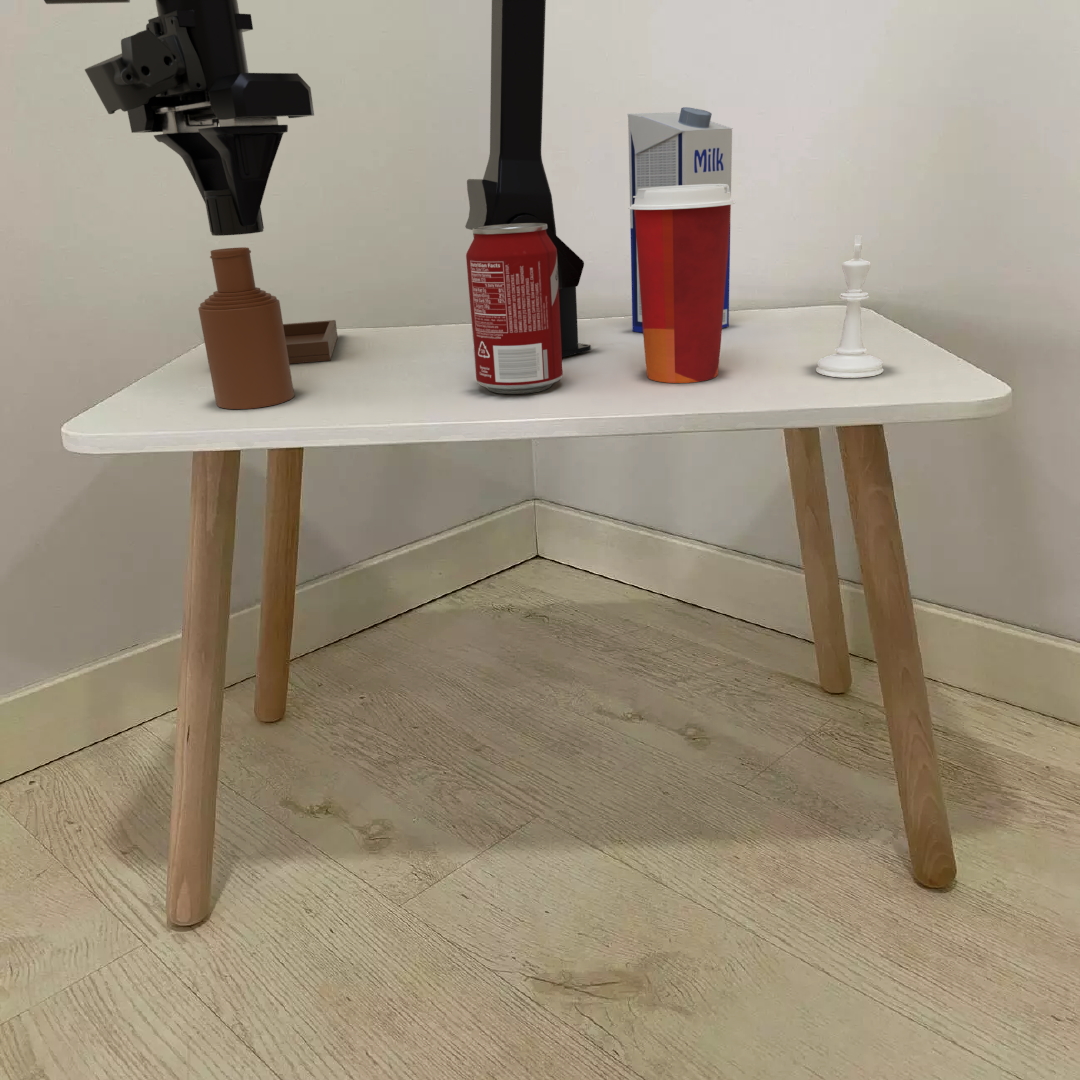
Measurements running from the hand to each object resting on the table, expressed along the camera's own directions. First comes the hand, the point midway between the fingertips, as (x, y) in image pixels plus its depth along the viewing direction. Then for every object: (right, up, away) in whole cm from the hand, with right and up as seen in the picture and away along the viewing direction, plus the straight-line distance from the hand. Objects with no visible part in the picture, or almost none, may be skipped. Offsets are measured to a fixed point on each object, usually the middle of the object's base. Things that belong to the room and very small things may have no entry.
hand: (235, 225), depth 75 cm
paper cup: (+35, -12, 0) cm, 37 cm away
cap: (0, -1, 0) cm, 1 cm away
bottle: (+2, -14, 0) cm, 14 cm away
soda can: (+23, -13, -1) cm, 26 cm away
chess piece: (+48, -12, -2) cm, 50 cm away
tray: (-2, -6, +19) cm, 20 cm away
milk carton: (+38, -4, +19) cm, 43 cm away
